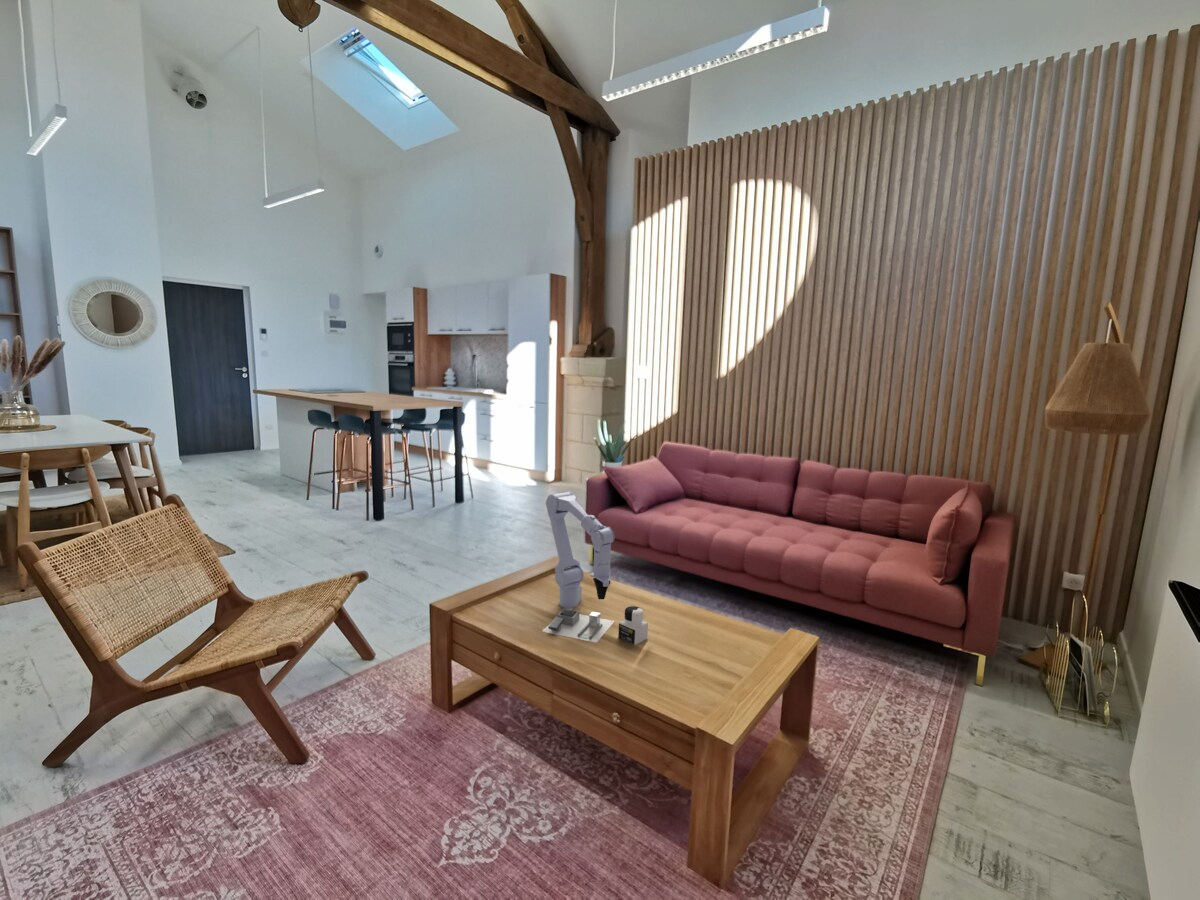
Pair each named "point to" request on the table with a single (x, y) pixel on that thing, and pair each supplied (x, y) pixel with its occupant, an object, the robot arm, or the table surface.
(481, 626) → the table surface
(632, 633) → the medicine bottle
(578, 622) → the panel
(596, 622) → the slider knob
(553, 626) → the rocker
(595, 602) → the table surface
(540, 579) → the table surface
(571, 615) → the push button
